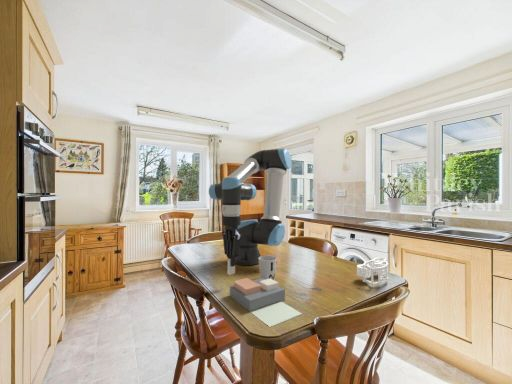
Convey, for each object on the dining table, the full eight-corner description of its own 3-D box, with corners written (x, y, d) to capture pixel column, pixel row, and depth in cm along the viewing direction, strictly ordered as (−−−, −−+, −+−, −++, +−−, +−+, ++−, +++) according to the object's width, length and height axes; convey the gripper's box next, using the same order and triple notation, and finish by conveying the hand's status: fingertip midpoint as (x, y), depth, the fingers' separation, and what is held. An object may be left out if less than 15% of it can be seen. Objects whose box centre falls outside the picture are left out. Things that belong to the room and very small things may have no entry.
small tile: (259, 286, 88) (259, 281, 88) (270, 283, 91) (270, 278, 91) (267, 291, 84) (267, 285, 84) (278, 287, 87) (278, 282, 87)
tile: (233, 286, 88) (233, 281, 88) (247, 283, 91) (247, 277, 91) (246, 295, 81) (246, 289, 81) (260, 291, 84) (260, 285, 84)
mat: (250, 313, 76) (250, 312, 76) (281, 302, 84) (281, 301, 84) (269, 328, 68) (269, 326, 68) (301, 314, 75) (301, 313, 75)
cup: (271, 285, 99) (271, 261, 99) (255, 281, 103) (254, 258, 103) (279, 279, 106) (279, 257, 106) (264, 275, 110) (264, 254, 110)
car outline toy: (374, 270, 118) (374, 255, 118) (398, 276, 109) (398, 260, 109) (352, 279, 105) (352, 263, 105) (377, 287, 97) (377, 269, 97)
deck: (230, 296, 88) (229, 286, 88) (262, 287, 97) (262, 277, 97) (250, 312, 77) (250, 300, 77) (284, 300, 85) (284, 289, 85)
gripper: (216, 214, 99) (216, 270, 98) (230, 217, 88) (230, 280, 88) (231, 213, 103) (231, 267, 103) (247, 216, 92) (247, 276, 92)
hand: (231, 273), depth 95 cm, fingers closed
